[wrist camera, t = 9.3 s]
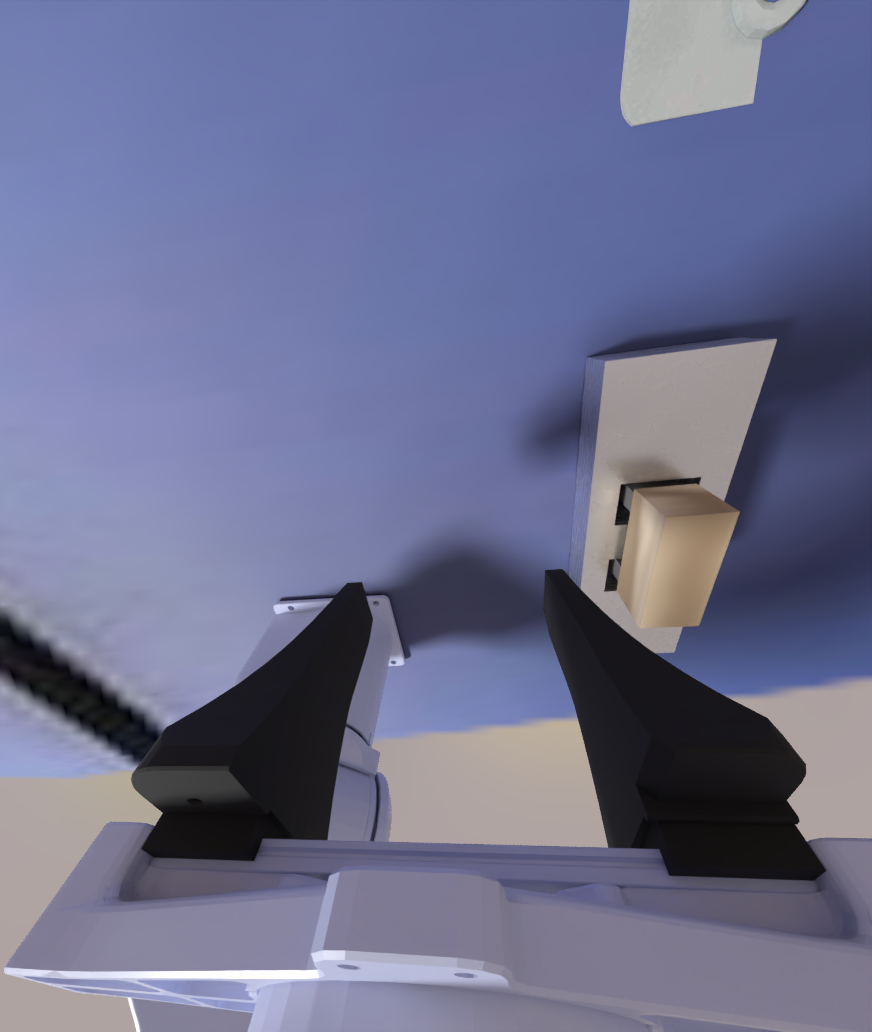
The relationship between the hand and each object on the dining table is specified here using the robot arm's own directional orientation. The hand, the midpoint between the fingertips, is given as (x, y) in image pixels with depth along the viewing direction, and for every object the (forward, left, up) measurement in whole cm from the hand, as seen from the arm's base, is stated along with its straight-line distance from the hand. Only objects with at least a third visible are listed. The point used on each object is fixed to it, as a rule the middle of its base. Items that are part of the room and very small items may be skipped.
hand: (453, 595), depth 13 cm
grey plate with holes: (+11, -3, -9) cm, 15 cm away
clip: (+11, -3, -9) cm, 15 cm away
